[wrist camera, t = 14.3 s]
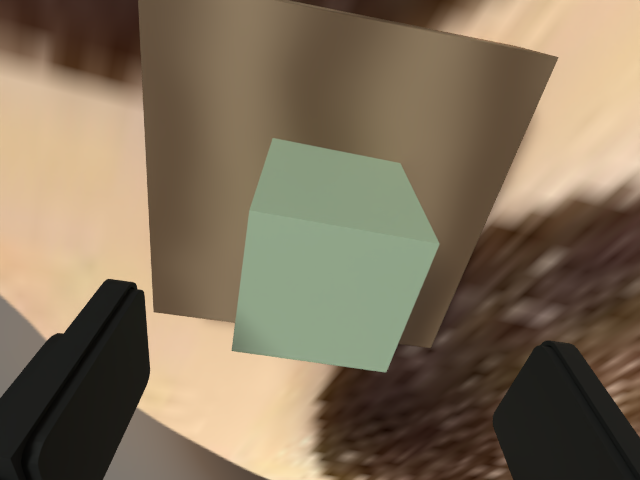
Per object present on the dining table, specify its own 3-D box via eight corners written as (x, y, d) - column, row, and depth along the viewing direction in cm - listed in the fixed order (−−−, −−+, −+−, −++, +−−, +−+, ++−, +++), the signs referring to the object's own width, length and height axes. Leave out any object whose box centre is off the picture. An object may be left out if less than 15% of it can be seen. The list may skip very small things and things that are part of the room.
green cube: (400, 162, 16) (439, 243, 11) (367, 266, 18) (386, 372, 13) (272, 137, 15) (249, 209, 10) (256, 248, 18) (231, 350, 13)
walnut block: (511, 44, 17) (558, 57, 14) (415, 298, 24) (430, 348, 21) (176, -23, 16) (136, -28, 13) (178, 265, 23) (153, 312, 20)
